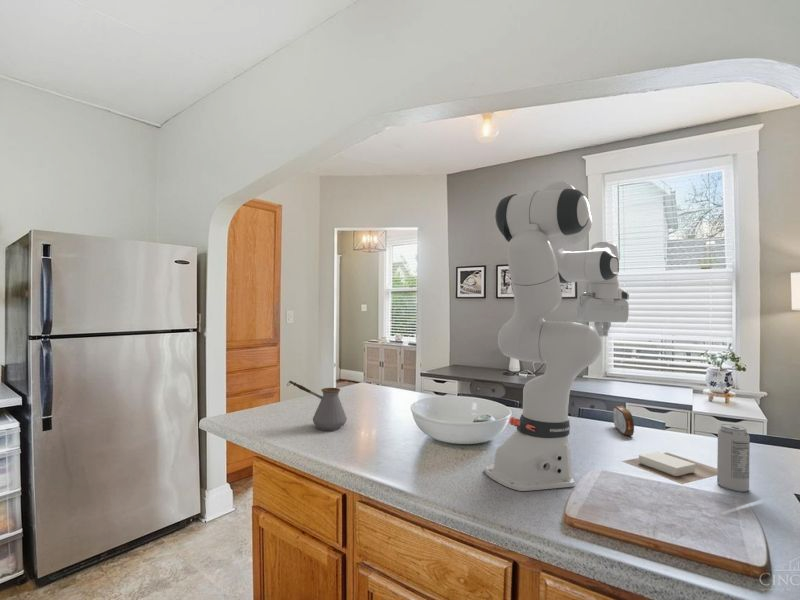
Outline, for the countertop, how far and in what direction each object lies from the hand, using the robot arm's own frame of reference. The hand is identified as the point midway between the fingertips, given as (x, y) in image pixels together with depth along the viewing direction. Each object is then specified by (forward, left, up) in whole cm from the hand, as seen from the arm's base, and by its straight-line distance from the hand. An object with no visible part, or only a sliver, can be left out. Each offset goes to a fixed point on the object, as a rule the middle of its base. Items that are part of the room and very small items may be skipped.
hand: (602, 336), depth 134 cm
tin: (+19, +6, -34) cm, 40 cm away
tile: (+1, -23, -32) cm, 40 cm away
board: (0, -23, -34) cm, 41 cm away
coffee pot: (-80, +48, -34) cm, 99 cm away
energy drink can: (0, -37, -34) cm, 50 cm away
